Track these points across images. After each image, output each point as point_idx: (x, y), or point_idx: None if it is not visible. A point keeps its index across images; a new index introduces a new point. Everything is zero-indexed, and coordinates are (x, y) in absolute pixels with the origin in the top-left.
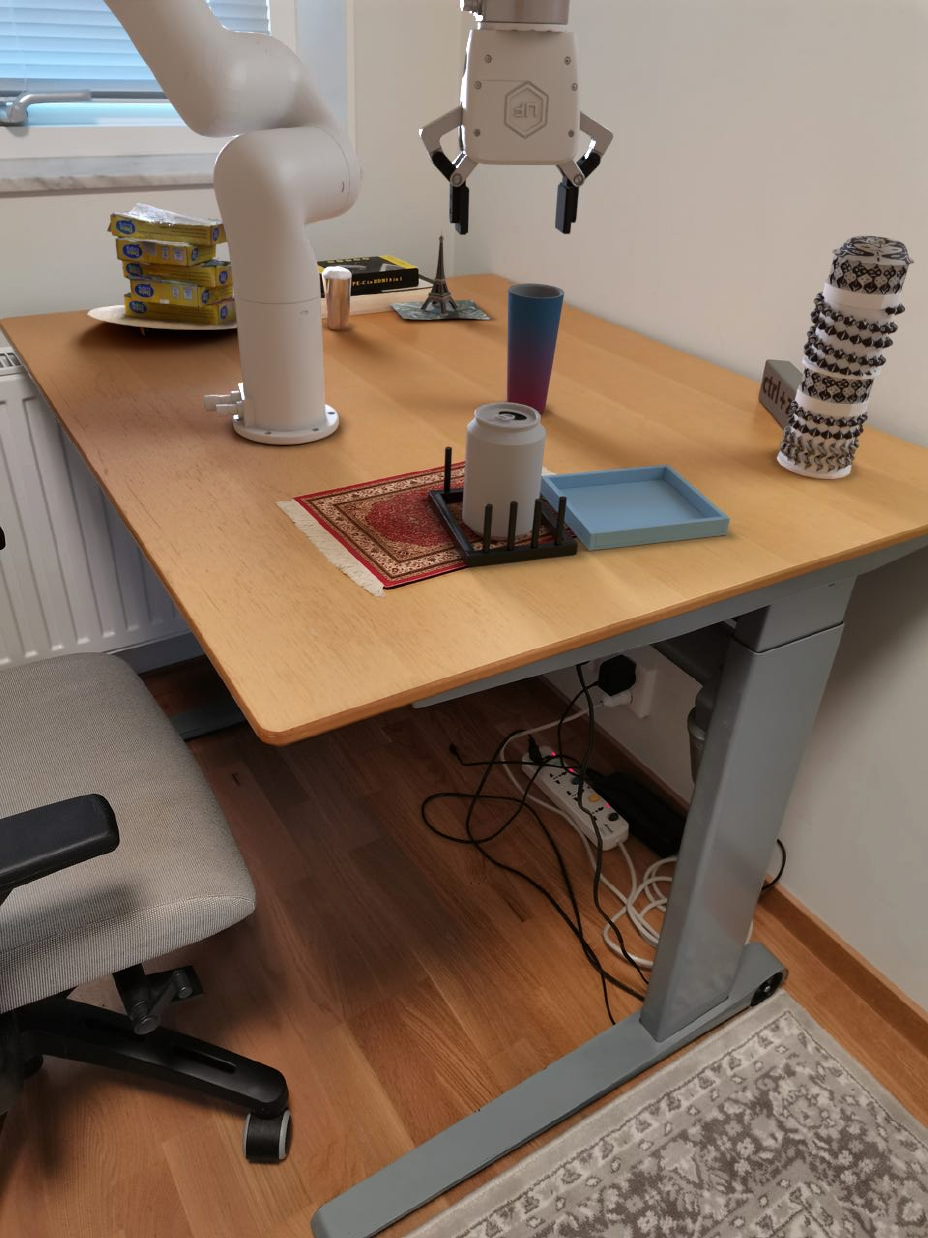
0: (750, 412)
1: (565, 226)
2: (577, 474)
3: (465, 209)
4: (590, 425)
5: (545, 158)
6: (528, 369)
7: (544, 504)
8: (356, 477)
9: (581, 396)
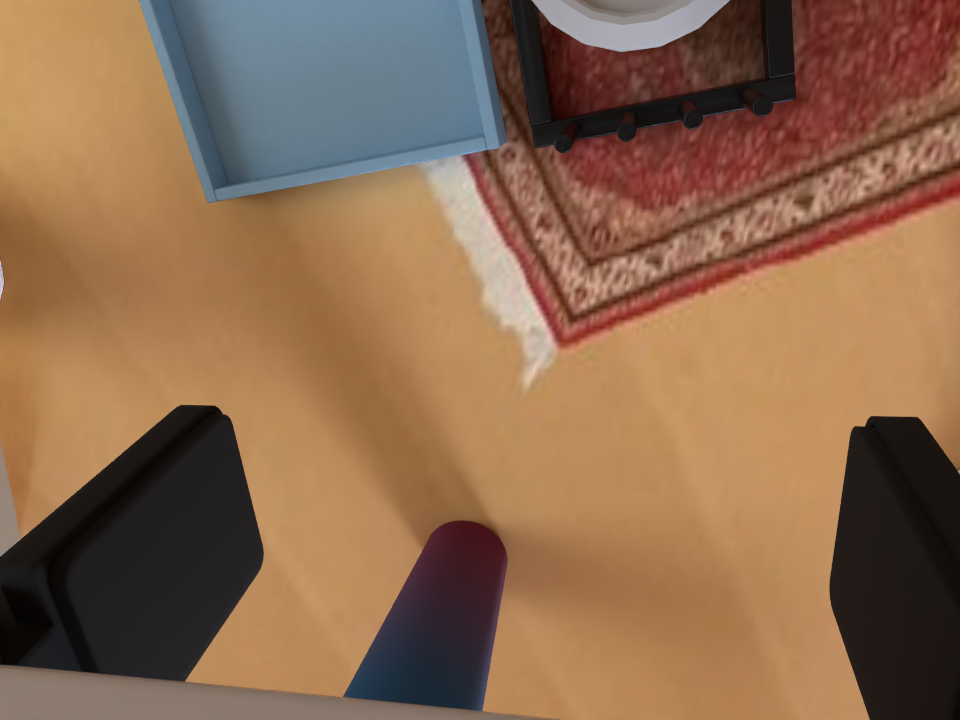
0: (35, 492)
1: (196, 422)
2: (413, 152)
3: (939, 506)
4: (344, 465)
5: (47, 698)
6: (451, 588)
7: (515, 13)
8: (948, 237)
9: (343, 597)
